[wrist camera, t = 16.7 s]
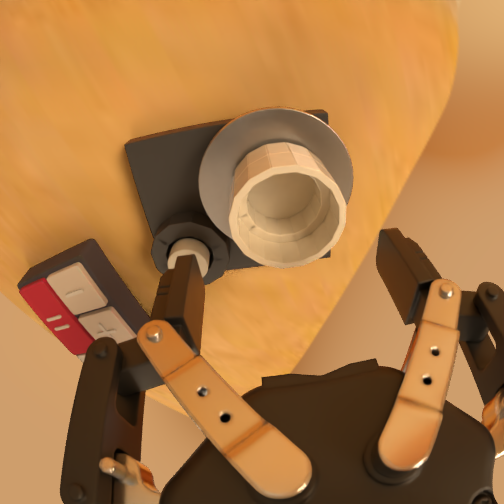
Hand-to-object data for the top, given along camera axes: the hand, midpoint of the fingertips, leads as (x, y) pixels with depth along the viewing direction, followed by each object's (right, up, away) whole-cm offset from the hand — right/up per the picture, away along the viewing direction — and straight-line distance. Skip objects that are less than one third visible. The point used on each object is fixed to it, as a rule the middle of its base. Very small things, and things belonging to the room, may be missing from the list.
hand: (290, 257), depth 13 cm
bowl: (0, +4, +6) cm, 8 cm away
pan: (0, +5, +7) cm, 8 cm away
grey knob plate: (-3, +5, +10) cm, 12 cm away
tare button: (-6, 0, +10) cm, 12 cm away
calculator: (-18, -6, +17) cm, 26 cm away
